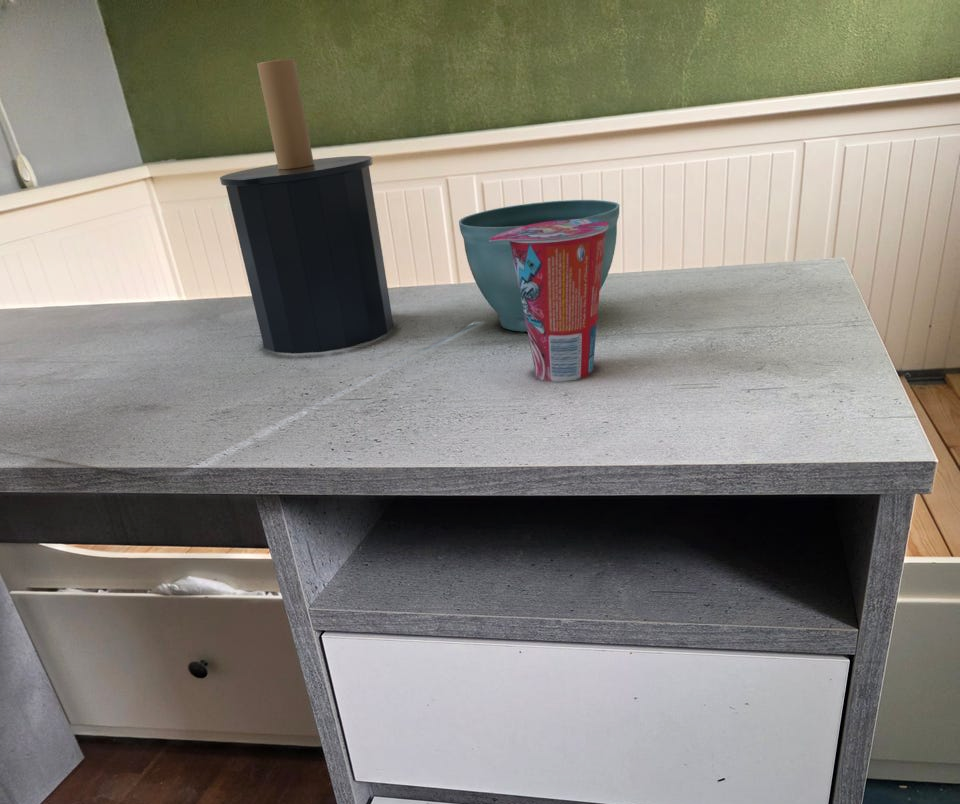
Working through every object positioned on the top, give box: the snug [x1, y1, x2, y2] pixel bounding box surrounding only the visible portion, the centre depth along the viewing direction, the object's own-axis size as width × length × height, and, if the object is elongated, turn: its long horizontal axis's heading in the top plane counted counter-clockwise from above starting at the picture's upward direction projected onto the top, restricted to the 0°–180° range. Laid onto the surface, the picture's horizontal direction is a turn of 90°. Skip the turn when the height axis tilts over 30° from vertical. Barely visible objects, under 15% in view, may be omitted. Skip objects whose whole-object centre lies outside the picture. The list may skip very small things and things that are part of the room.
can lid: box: [219, 58, 374, 187], centre depth 87 cm, size 15×15×10 cm
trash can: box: [225, 166, 394, 355], centre depth 93 cm, size 14×14×16 cm
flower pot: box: [458, 199, 621, 333], centre depth 91 cm, size 16×16×11 cm
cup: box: [489, 219, 608, 383], centre depth 75 cm, size 9×8×12 cm
